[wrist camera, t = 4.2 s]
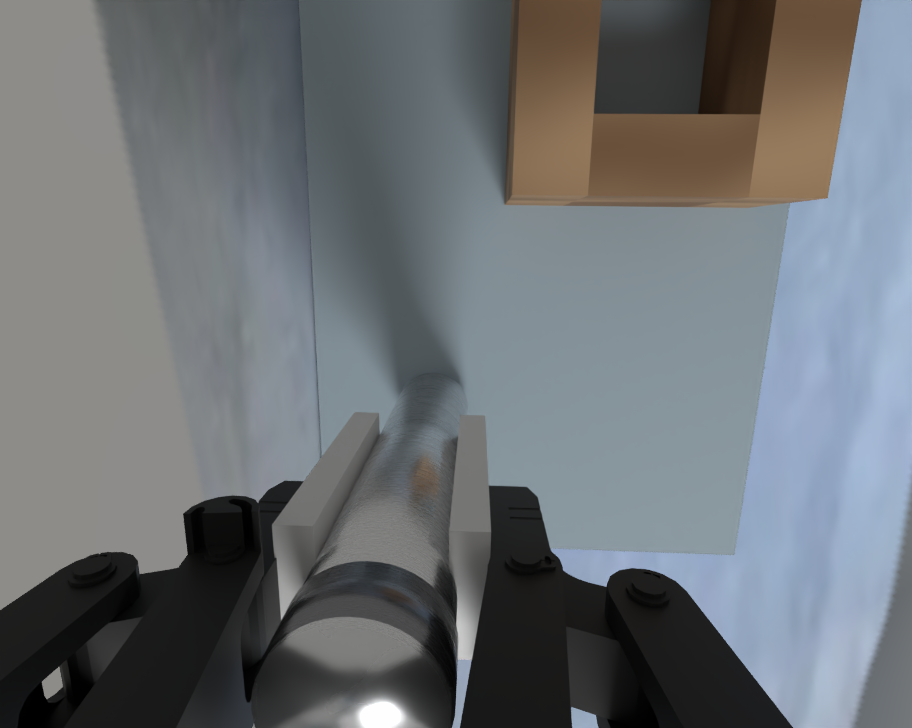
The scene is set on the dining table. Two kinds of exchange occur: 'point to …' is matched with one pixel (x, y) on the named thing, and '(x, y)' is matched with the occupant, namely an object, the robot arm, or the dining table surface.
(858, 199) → the dining table surface
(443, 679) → the metal cylinder rod
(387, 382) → the mat
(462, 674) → the dining table surface
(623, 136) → the wooden block with hole
